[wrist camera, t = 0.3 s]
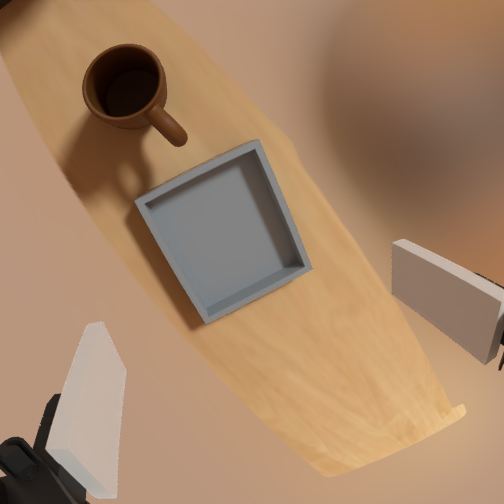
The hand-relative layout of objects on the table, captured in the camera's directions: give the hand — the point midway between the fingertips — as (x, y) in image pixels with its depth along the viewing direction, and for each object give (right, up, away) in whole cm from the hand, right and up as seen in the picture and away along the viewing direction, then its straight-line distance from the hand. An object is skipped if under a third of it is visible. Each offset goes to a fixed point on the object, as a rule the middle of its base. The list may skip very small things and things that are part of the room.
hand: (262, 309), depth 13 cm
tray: (-4, +5, +25) cm, 26 cm away
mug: (-12, +18, +19) cm, 29 cm away
